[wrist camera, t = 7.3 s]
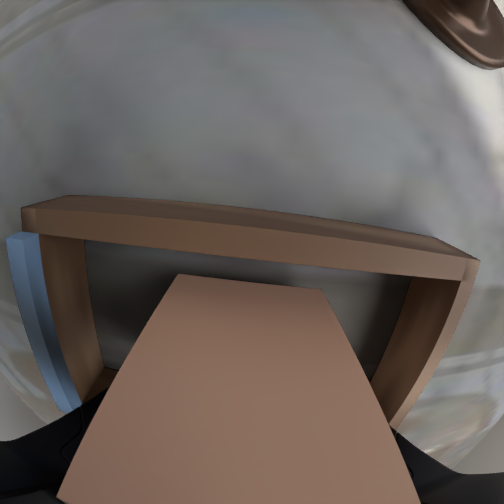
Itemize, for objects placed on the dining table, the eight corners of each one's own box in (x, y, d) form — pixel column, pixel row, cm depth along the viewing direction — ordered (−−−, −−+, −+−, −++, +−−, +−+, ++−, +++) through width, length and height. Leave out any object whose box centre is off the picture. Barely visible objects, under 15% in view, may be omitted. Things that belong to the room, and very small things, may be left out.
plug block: (293, 389, 11) (319, 558, 3) (180, 378, 11) (135, 546, 3) (321, 289, 9) (424, 512, 2) (178, 273, 9) (56, 496, 1)
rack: (326, 468, 15) (333, 506, 12) (123, 449, 15) (110, 485, 11) (436, 238, 10) (494, 268, 6) (67, 194, 9) (3, 212, 5)
